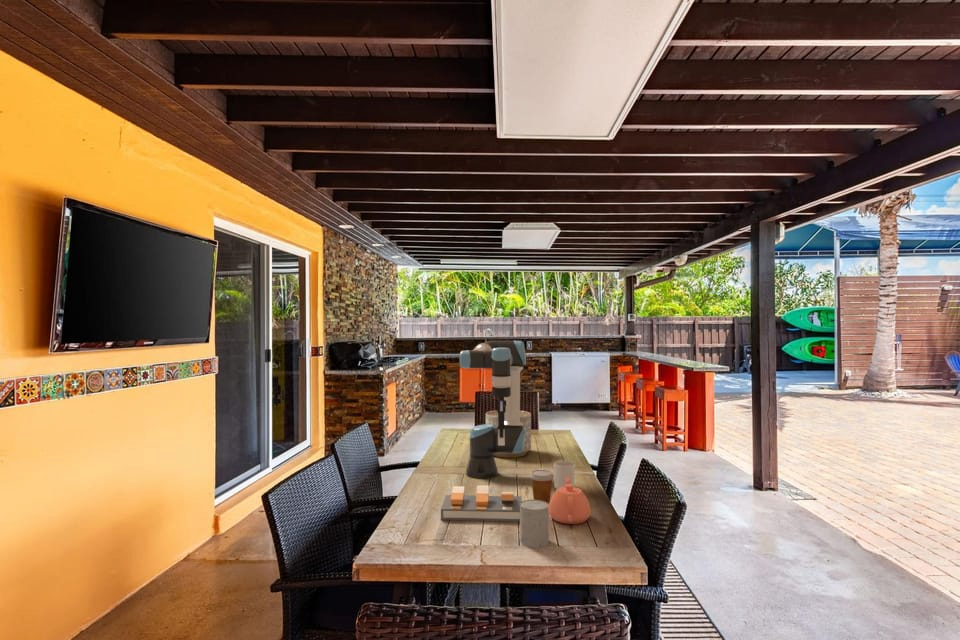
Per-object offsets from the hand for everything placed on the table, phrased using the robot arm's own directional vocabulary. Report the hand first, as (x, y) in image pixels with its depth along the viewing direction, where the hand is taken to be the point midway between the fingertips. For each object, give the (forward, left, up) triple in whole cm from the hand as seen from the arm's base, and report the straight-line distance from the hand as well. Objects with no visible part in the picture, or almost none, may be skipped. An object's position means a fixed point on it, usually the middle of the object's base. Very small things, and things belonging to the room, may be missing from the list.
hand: (501, 444), depth 210 cm
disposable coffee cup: (+9, +14, -24) cm, 29 cm away
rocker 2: (+2, -12, -17) cm, 21 cm away
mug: (+3, +36, -24) cm, 43 cm away
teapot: (+27, +9, -24) cm, 37 cm away
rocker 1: (-4, -19, -17) cm, 26 cm away
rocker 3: (+9, -6, -17) cm, 20 cm away
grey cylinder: (+33, -17, -24) cm, 45 cm away
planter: (-58, +62, -24) cm, 88 cm away
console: (+2, -12, -24) cm, 27 cm away
